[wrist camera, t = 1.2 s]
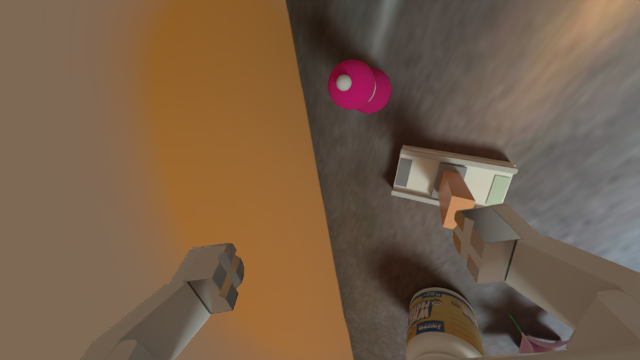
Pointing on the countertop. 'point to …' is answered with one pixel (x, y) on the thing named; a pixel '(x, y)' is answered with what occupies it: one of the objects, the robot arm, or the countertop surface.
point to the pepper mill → (359, 86)
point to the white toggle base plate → (422, 164)
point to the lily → (536, 343)
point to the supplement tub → (441, 327)
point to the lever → (451, 192)
